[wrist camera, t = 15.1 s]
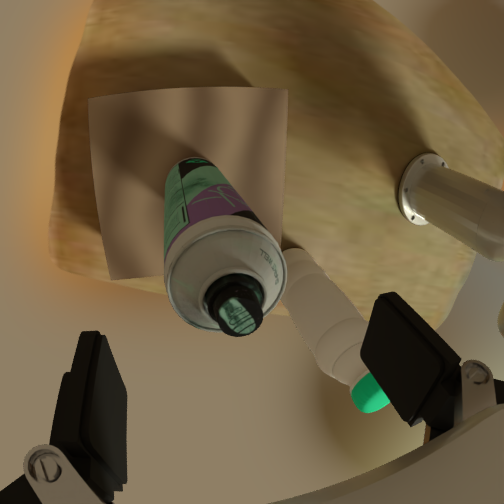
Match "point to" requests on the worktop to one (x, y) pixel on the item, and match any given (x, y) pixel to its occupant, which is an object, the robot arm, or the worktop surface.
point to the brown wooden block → (173, 151)
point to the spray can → (217, 253)
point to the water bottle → (330, 327)
